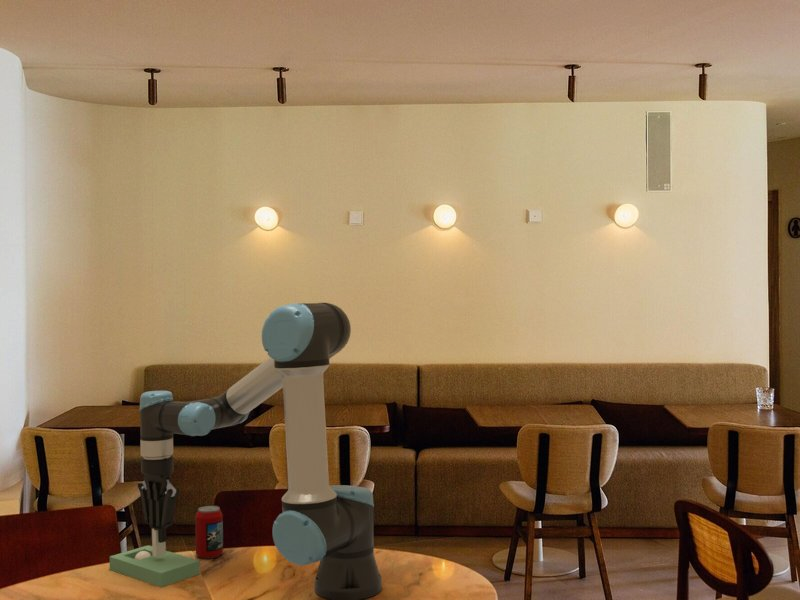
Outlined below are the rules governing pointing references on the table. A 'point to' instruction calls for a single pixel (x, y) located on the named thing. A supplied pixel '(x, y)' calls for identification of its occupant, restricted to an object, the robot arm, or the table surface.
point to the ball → (142, 555)
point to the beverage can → (209, 532)
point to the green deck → (155, 566)
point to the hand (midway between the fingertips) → (159, 554)
